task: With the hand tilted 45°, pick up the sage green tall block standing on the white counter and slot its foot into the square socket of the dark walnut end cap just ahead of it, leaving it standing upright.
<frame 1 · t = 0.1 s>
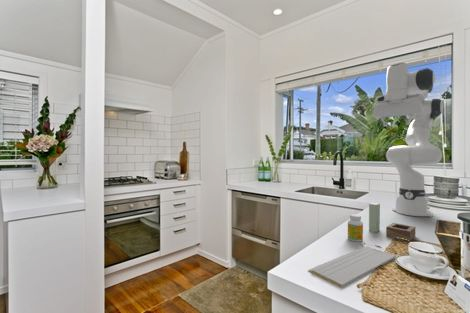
hand: (396, 125, 116), 48 cm above the worktop, tool pointing down, fingers open, 8 cm apart
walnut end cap: (400, 236, 99), on the worktop
sage green tall block: (374, 230, 106), on the worktop
supplement bottle: (355, 240, 95), on the worktop
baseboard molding: (352, 265, 74), on the worktop
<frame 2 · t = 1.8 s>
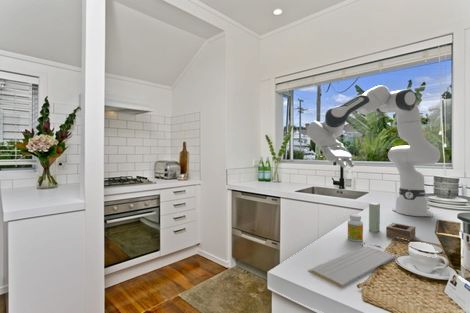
hand: (349, 166, 114), 28 cm above the worktop, tool tilted 45°, fingers open, 8 cm apart
nothing on the worktop moved.
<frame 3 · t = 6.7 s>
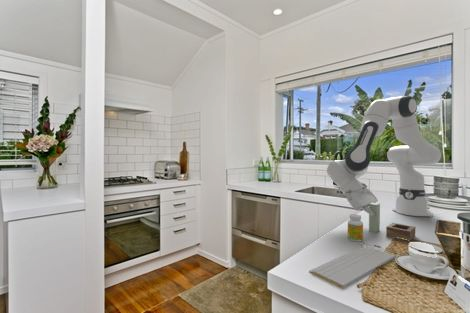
hand: (376, 214, 106), 7 cm above the worktop, tool tilted 45°, fingers closed on sage green tall block, 4 cm apart
sage green tall block: (374, 230, 106), on the worktop, touching gripper
everything else where it was.
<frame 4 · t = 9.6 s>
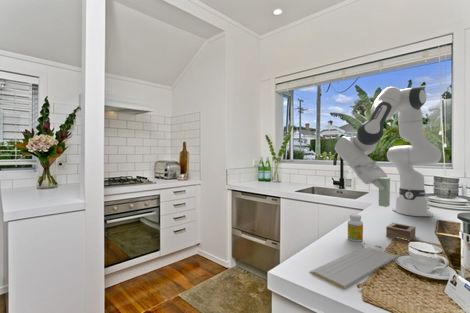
hand: (386, 188, 103), 19 cm above the worktop, tool tilted 45°, fingers closed on sage green tall block, 4 cm apart
sage green tall block: (384, 205, 103), point 12 cm above the worktop, touching gripper
everything else where it was.
when the fingers open (9 cm above the worktop, at t = 12.9 s): sage green tall block stays where it is, resting on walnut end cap.
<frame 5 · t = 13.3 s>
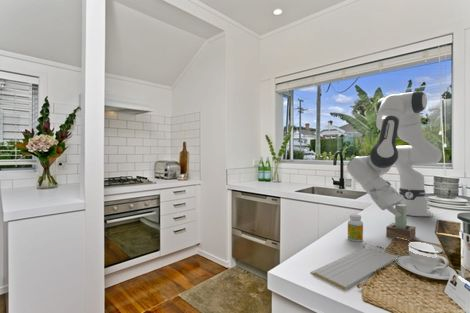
hand: (402, 214, 98), 9 cm above the worktop, tool tilted 45°, fingers open, 8 cm apart
sage green tall block: (400, 233, 99), point 1 cm above the worktop, touching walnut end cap
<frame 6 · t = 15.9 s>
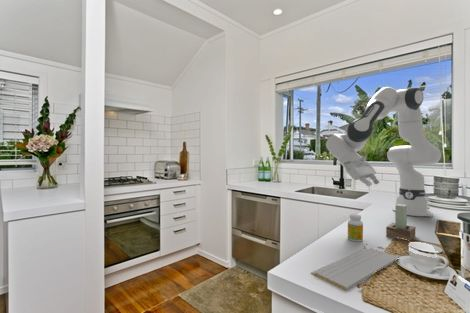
hand: (374, 184, 107), 20 cm above the worktop, tool tilted 45°, fingers open, 8 cm apart
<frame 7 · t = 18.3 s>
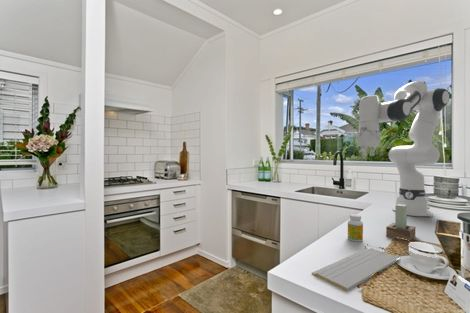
hand: (368, 155, 119), 33 cm above the worktop, tool pointing down, fingers open, 8 cm apart
at the end: sage green tall block 0.1 cm off-centre on the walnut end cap, point 1.0 cm above the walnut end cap's base; sage green tall block tilted 0°; the gripper is holding nothing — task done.
